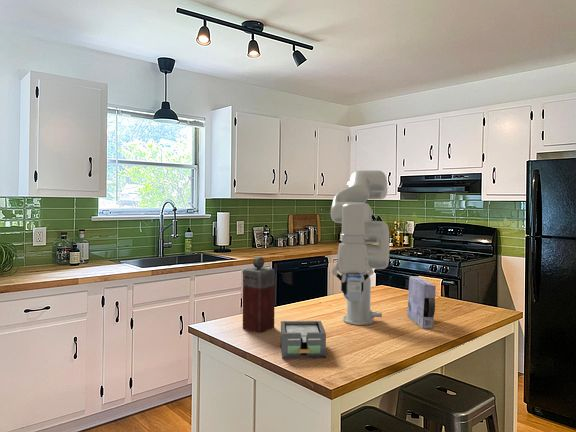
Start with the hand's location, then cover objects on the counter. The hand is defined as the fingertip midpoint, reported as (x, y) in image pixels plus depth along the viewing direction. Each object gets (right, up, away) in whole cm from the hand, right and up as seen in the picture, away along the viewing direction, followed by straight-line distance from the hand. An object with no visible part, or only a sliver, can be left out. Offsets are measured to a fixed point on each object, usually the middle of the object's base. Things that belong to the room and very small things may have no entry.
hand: (352, 292), depth 150 cm
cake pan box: (+33, -18, +31) cm, 49 cm away
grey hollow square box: (-17, -19, -2) cm, 26 cm away
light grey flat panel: (-17, -13, -4) cm, 22 cm away
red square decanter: (-34, -18, +23) cm, 45 cm away
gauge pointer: (-17, -17, -10) cm, 26 cm away
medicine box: (0, -2, 0) cm, 2 cm away
